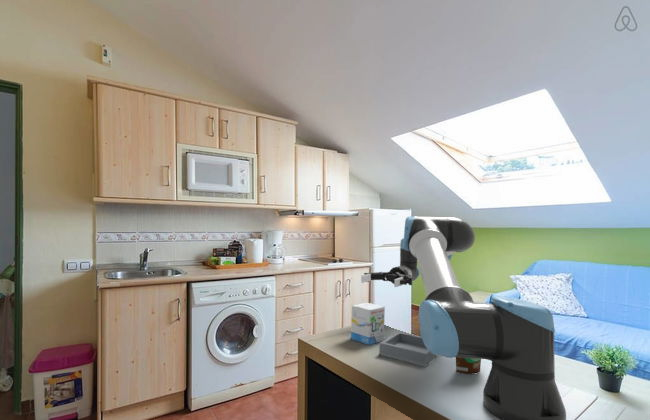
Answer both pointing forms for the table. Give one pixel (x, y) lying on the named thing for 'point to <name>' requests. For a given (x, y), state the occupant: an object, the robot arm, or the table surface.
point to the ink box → (367, 323)
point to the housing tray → (406, 349)
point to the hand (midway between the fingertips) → (378, 281)
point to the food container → (468, 365)
